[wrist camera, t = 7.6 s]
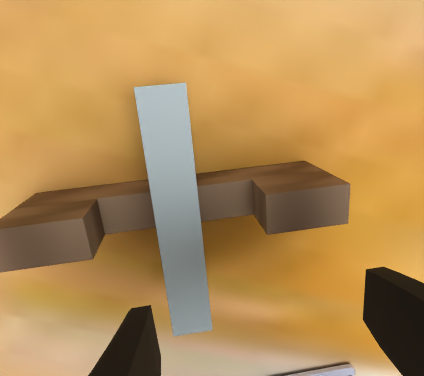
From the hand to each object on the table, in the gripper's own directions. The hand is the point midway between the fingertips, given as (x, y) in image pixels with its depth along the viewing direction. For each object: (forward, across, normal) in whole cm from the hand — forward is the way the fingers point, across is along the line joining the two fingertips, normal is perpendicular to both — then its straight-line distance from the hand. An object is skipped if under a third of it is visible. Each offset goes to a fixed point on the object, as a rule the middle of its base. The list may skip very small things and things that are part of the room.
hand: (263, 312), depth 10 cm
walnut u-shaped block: (+9, +2, -2) cm, 10 cm away
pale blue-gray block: (+9, +2, -2) cm, 10 cm away
